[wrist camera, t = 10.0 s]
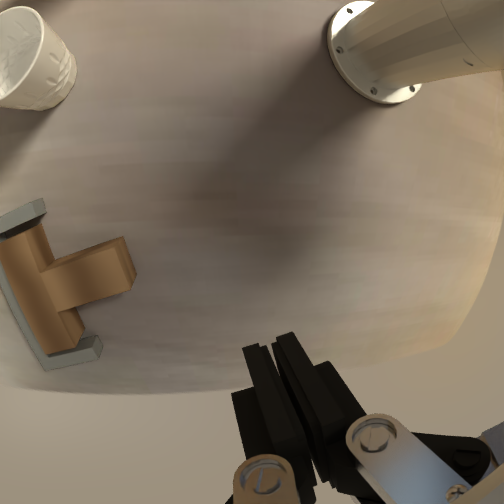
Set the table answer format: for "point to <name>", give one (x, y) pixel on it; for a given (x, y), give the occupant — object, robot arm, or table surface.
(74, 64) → the white cup
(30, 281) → the t block
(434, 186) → the table surface
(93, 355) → the bracket
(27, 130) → the table surface
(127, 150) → the table surface
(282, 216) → the table surface
